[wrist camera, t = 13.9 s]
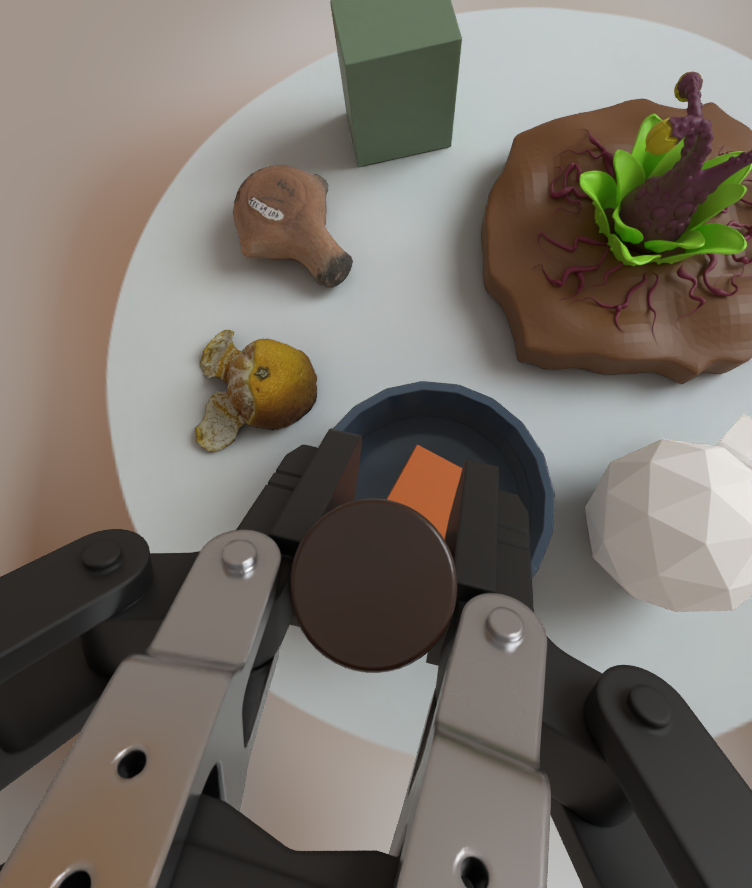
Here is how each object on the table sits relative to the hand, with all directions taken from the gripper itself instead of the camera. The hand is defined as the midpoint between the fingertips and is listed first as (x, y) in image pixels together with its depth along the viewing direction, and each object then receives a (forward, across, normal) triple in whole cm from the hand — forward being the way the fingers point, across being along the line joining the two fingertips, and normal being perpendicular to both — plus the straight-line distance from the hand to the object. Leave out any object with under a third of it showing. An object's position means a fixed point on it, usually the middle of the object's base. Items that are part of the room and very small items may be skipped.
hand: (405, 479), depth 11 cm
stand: (+34, +7, -6) cm, 36 cm away
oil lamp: (+27, +12, +2) cm, 30 cm away
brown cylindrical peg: (+2, 0, +5) cm, 5 cm away
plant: (+30, -10, -1) cm, 31 cm away
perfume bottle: (+17, -15, +12) cm, 26 cm away
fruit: (+19, +13, +10) cm, 25 cm away
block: (+15, -1, +13) cm, 20 cm away
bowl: (+15, -1, +14) cm, 20 cm away
